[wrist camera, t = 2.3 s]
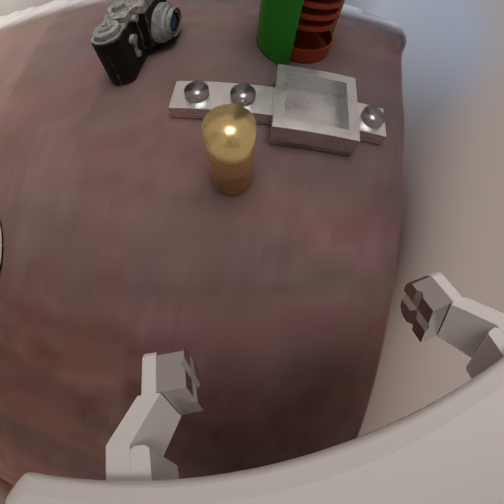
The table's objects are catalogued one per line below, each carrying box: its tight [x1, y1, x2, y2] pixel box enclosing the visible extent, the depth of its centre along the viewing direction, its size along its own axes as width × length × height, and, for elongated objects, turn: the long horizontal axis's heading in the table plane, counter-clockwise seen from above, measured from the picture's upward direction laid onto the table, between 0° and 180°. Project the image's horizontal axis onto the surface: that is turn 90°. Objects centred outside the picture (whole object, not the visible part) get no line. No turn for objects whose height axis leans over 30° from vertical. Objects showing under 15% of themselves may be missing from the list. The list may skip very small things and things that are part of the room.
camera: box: [91, 0, 181, 86], centre depth 25 cm, size 15×7×10 cm, turn 171°
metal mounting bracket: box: [169, 64, 386, 156], centre depth 27 cm, size 22×8×3 cm, turn 84°
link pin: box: [202, 104, 256, 196], centre depth 23 cm, size 4×4×9 cm
